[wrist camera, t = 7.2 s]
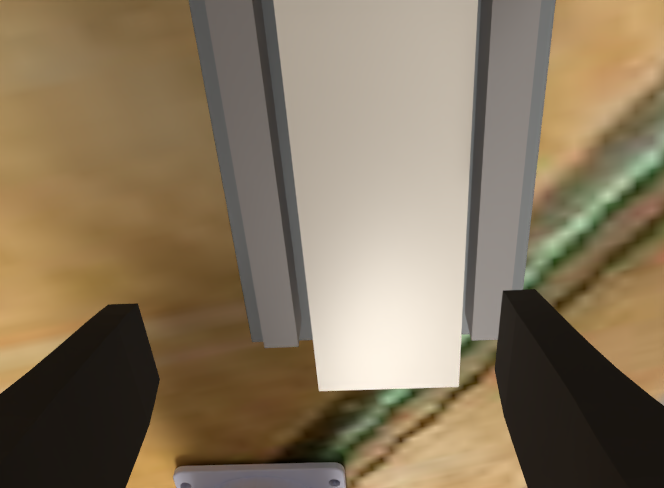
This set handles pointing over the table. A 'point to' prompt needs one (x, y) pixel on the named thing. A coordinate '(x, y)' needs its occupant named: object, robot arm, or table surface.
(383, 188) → the cream rectangular bar
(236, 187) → the cradle
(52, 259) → the table surface
